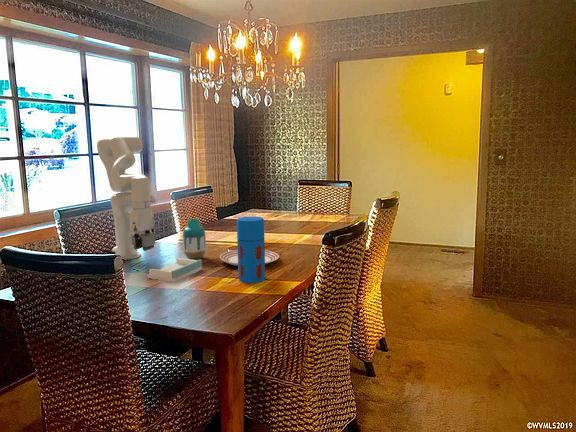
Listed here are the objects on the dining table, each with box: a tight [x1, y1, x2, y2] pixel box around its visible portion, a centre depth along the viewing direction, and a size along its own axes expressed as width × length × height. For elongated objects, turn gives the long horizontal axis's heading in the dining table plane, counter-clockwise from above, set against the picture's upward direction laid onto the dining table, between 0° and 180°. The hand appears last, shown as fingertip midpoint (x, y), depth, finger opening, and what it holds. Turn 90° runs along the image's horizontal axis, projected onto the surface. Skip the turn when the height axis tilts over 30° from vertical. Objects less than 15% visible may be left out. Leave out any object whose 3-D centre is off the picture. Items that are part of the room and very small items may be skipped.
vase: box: [182, 217, 207, 260], centre depth 218 cm, size 11×11×19 cm
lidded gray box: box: [132, 231, 156, 252], centre depth 200 cm, size 8×6×9 cm
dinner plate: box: [219, 249, 280, 267], centre depth 213 cm, size 28×27×3 cm
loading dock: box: [146, 257, 203, 283], centre depth 195 cm, size 14×19×4 cm
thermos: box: [236, 216, 266, 284], centre depth 185 cm, size 11×11×25 cm
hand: (143, 245), depth 201 cm, fingers closed on lidded gray box, 5 cm apart
